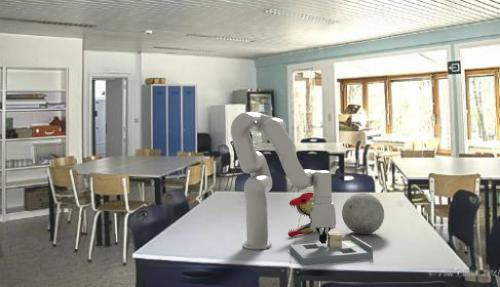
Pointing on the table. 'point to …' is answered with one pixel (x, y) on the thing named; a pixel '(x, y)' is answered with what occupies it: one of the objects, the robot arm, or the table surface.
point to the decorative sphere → (363, 213)
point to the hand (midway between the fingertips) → (323, 242)
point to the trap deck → (332, 251)
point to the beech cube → (334, 239)
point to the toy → (302, 212)
